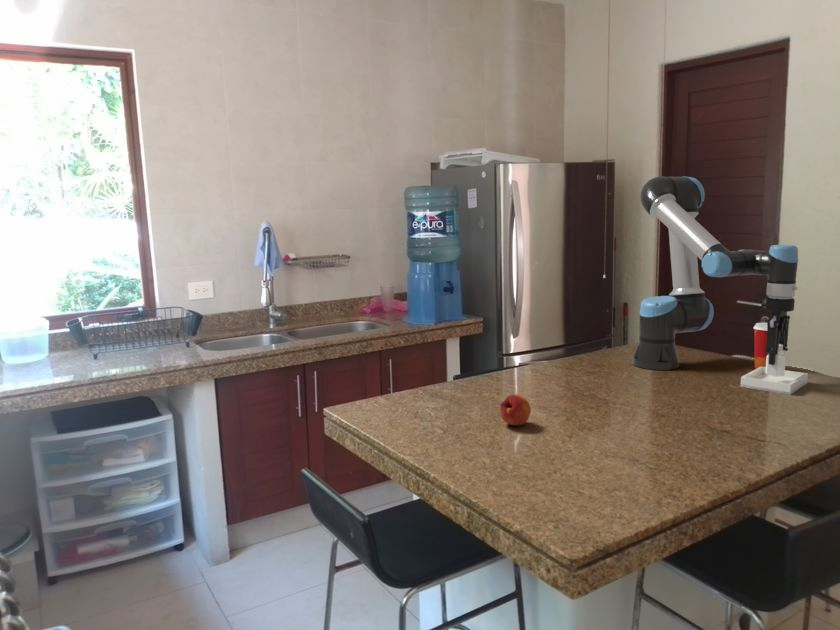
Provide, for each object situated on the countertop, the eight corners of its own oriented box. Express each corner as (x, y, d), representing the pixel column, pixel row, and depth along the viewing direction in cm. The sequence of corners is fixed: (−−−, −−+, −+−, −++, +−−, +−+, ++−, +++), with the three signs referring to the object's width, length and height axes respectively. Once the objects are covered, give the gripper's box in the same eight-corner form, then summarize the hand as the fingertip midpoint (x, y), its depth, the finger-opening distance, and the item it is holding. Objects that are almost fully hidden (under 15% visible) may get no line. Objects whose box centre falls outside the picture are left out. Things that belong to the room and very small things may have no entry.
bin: (740, 386, 201) (741, 377, 201) (760, 375, 213) (760, 366, 213) (789, 394, 192) (790, 384, 191) (807, 383, 204) (808, 373, 204)
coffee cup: (772, 365, 226) (775, 322, 224) (782, 371, 218) (786, 326, 216) (746, 365, 227) (749, 322, 225) (756, 371, 219) (759, 326, 217)
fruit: (493, 422, 171) (493, 392, 170) (520, 418, 174) (520, 388, 173) (509, 431, 164) (509, 400, 162) (537, 427, 167) (537, 396, 166)
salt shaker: (775, 377, 199) (778, 346, 198) (764, 374, 203) (766, 344, 202) (785, 376, 201) (787, 345, 200) (773, 373, 205) (775, 342, 203)
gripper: (784, 301, 189) (778, 380, 193) (803, 295, 202) (797, 369, 206) (756, 299, 195) (751, 376, 198) (776, 293, 207) (771, 366, 211)
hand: (774, 373), depth 202 cm, fingers closed on salt shaker, 5 cm apart
